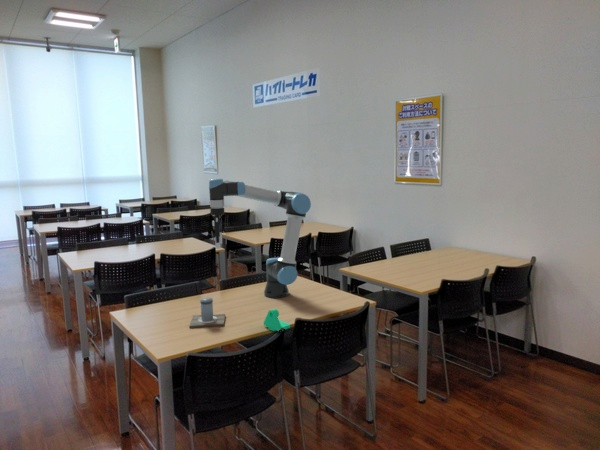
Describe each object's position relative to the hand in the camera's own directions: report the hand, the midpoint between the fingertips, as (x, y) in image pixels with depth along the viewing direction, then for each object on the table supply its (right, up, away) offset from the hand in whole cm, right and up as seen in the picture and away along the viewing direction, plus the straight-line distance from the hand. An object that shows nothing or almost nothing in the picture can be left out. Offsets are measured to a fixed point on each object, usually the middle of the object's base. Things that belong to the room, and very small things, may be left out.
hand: (219, 246), depth 251 cm
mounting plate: (-3, -39, -13) cm, 41 cm away
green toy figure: (+33, -40, -23) cm, 57 cm away
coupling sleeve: (-4, -38, -14) cm, 40 cm away
